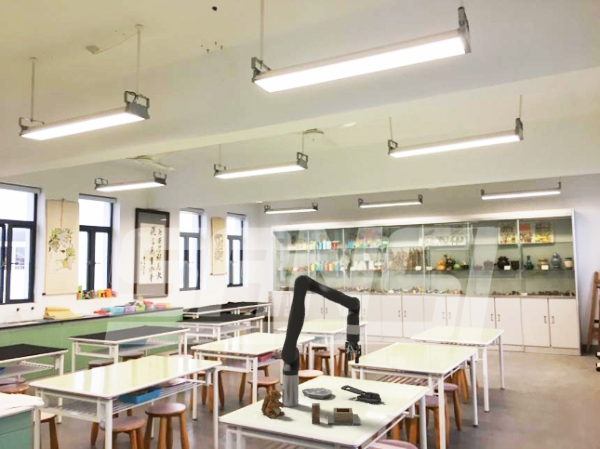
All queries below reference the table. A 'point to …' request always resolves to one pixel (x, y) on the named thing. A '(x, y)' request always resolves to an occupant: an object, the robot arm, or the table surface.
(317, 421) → the walnut bar
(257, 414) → the table surface
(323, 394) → the brain slice
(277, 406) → the stuffed squirrel
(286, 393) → the robot arm
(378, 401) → the zipper pull
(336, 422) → the well stand
